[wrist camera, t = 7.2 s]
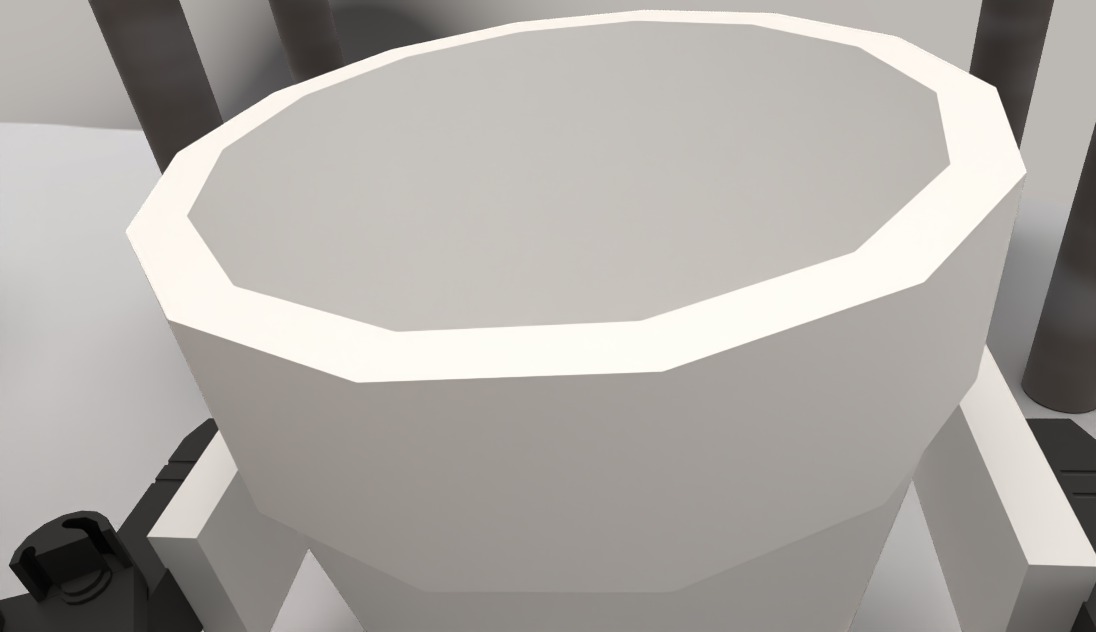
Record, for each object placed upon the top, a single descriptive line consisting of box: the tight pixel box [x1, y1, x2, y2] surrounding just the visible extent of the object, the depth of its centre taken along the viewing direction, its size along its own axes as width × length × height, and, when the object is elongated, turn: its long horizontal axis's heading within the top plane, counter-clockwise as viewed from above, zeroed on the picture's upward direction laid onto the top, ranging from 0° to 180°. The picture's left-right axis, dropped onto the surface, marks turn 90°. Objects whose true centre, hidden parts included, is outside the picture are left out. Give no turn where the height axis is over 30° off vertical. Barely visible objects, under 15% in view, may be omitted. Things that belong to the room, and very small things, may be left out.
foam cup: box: [125, 10, 1027, 632], centre depth 13 cm, size 10×9×13 cm
